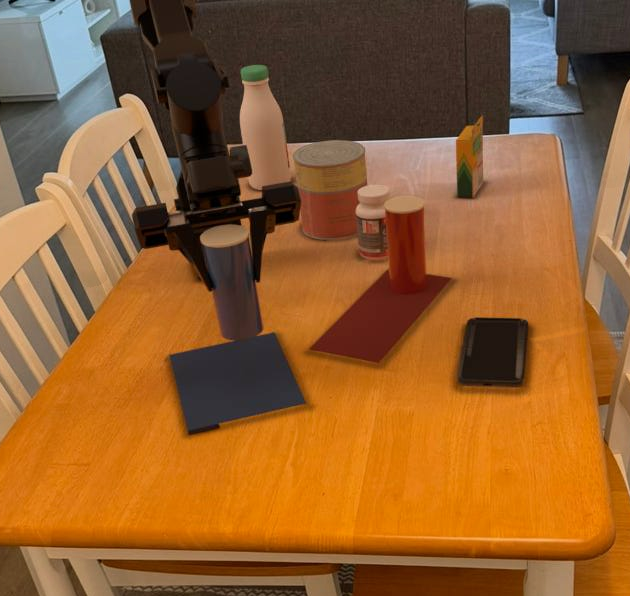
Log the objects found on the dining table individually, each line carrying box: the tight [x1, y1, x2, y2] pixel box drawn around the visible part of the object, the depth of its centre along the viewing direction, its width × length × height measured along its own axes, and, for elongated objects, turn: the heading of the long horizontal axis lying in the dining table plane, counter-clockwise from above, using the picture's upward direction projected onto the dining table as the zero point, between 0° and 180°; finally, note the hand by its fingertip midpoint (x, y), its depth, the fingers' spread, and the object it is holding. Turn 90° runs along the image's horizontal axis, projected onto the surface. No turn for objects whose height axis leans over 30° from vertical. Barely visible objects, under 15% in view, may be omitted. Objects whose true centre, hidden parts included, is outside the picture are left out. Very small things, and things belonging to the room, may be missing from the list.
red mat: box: [308, 268, 452, 364], centre depth 119 cm, size 24×10×1 cm, turn 154°
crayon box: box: [455, 114, 484, 199], centre depth 148 cm, size 7×3×12 cm, turn 160°
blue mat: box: [168, 332, 307, 435], centre depth 109 cm, size 18×14×1 cm
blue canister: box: [200, 224, 265, 341], centre depth 101 cm, size 5×5×12 cm
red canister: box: [384, 195, 427, 294], centre depth 121 cm, size 5×5×12 cm
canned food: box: [292, 139, 368, 241], centre depth 141 cm, size 11×11×12 cm
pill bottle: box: [356, 184, 391, 260], centre depth 132 cm, size 6×6×10 cm
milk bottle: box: [239, 64, 292, 191], centre depth 155 cm, size 8×8×20 cm
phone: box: [456, 316, 529, 388], centre depth 109 cm, size 8×1×15 cm
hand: (234, 285), depth 100 cm, fingers closed on blue canister, 5 cm apart
